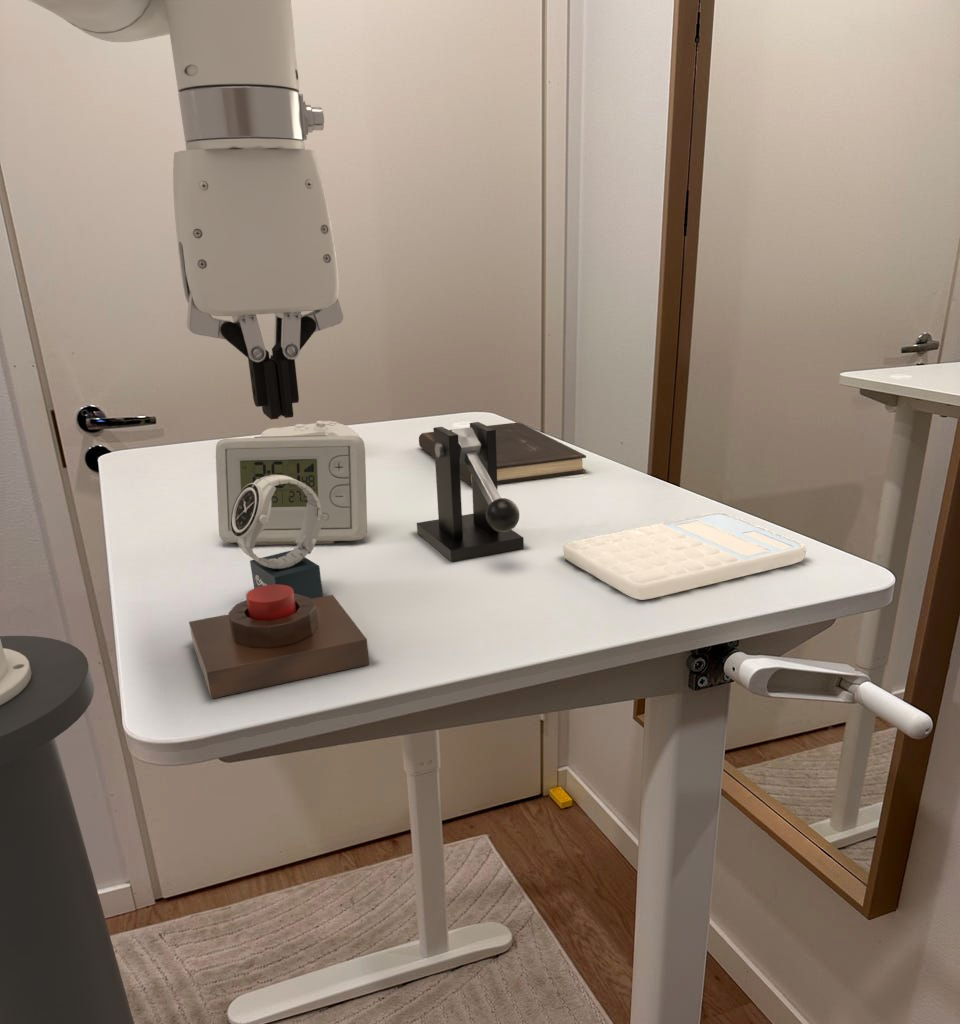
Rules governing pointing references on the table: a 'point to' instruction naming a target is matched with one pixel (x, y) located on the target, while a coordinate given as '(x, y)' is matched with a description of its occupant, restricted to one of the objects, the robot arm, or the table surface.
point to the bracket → (452, 528)
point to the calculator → (682, 554)
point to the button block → (276, 646)
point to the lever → (486, 483)
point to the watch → (288, 565)
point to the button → (271, 602)
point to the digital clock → (308, 459)
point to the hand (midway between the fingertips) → (277, 414)
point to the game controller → (312, 430)
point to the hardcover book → (522, 455)
